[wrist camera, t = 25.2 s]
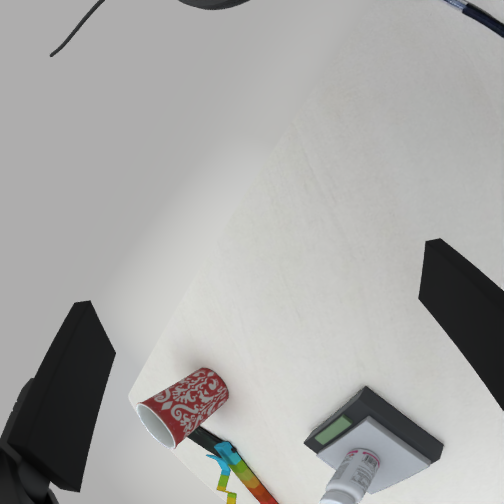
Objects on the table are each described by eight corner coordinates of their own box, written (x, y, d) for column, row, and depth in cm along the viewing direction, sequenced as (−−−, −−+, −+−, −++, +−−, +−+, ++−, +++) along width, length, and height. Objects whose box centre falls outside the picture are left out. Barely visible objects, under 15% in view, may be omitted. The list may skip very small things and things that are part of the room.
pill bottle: (349, 467, 35) (319, 513, 28) (344, 445, 34) (311, 493, 28) (382, 471, 32) (354, 521, 25) (379, 449, 31) (350, 502, 25)
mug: (195, 353, 53) (132, 393, 43) (236, 383, 49) (174, 432, 38) (192, 395, 59) (140, 432, 48) (227, 423, 54) (176, 466, 44)
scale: (311, 432, 42) (299, 447, 39) (365, 385, 34) (354, 404, 32) (378, 481, 37) (369, 497, 34) (444, 444, 29) (437, 465, 27)
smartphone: (235, 467, 57) (183, 435, 66) (238, 464, 58) (186, 432, 66) (233, 451, 55) (179, 417, 63) (236, 447, 56) (182, 414, 64)
